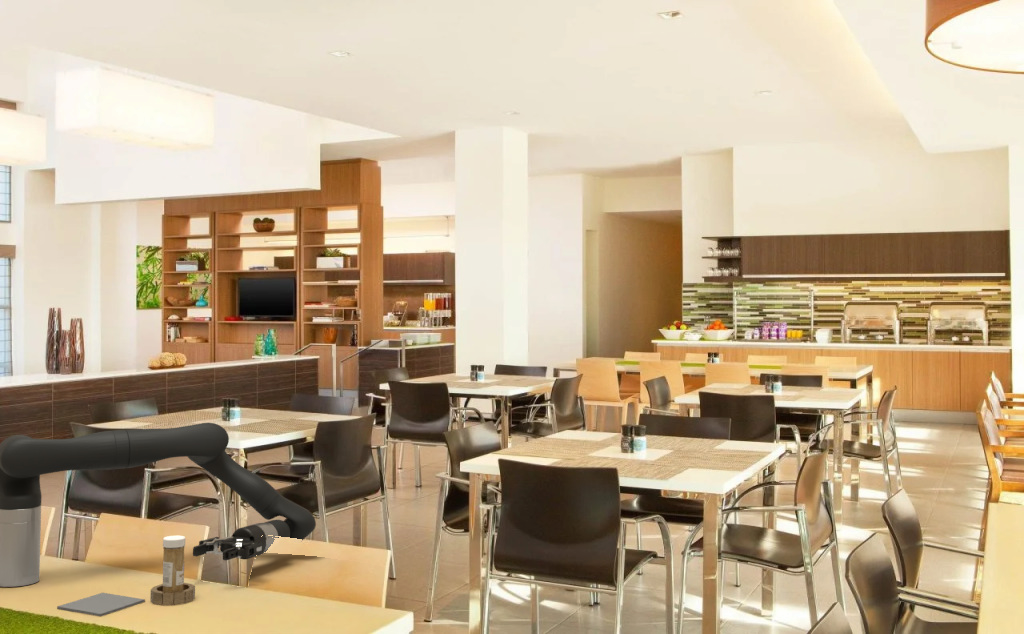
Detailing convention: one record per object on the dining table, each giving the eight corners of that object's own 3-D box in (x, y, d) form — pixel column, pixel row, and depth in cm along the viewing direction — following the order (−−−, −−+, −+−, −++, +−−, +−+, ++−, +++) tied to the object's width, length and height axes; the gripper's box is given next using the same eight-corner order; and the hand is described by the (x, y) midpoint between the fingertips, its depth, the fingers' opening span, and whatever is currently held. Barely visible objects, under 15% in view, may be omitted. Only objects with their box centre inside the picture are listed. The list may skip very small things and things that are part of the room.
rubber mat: (57, 608, 200) (57, 606, 200) (102, 594, 211) (102, 592, 211) (100, 616, 196) (100, 614, 196) (144, 601, 207) (144, 599, 207)
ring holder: (142, 602, 206) (142, 590, 206) (171, 592, 214) (171, 580, 214) (174, 607, 203) (174, 595, 203) (203, 597, 211) (203, 585, 211)
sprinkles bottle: (186, 600, 208) (187, 537, 208) (164, 603, 205) (166, 540, 206) (180, 595, 212) (182, 534, 212) (159, 598, 209) (160, 536, 210)
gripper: (231, 521, 237) (184, 534, 222) (279, 527, 231) (234, 540, 216) (230, 552, 237) (183, 567, 222) (278, 558, 231) (233, 574, 216)
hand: (209, 553), depth 219 cm, fingers open, 8 cm apart
